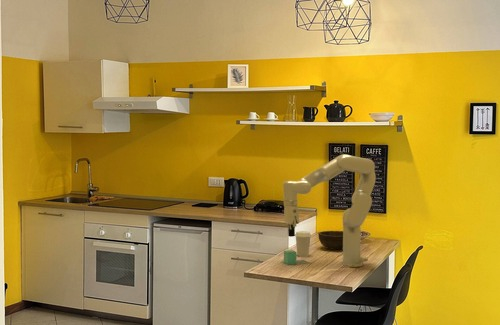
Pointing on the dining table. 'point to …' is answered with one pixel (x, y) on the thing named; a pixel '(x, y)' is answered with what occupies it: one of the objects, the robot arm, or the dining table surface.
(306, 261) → the stand board
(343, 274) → the dining table surface
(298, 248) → the coffee cup
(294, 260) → the cap
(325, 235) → the bowl
